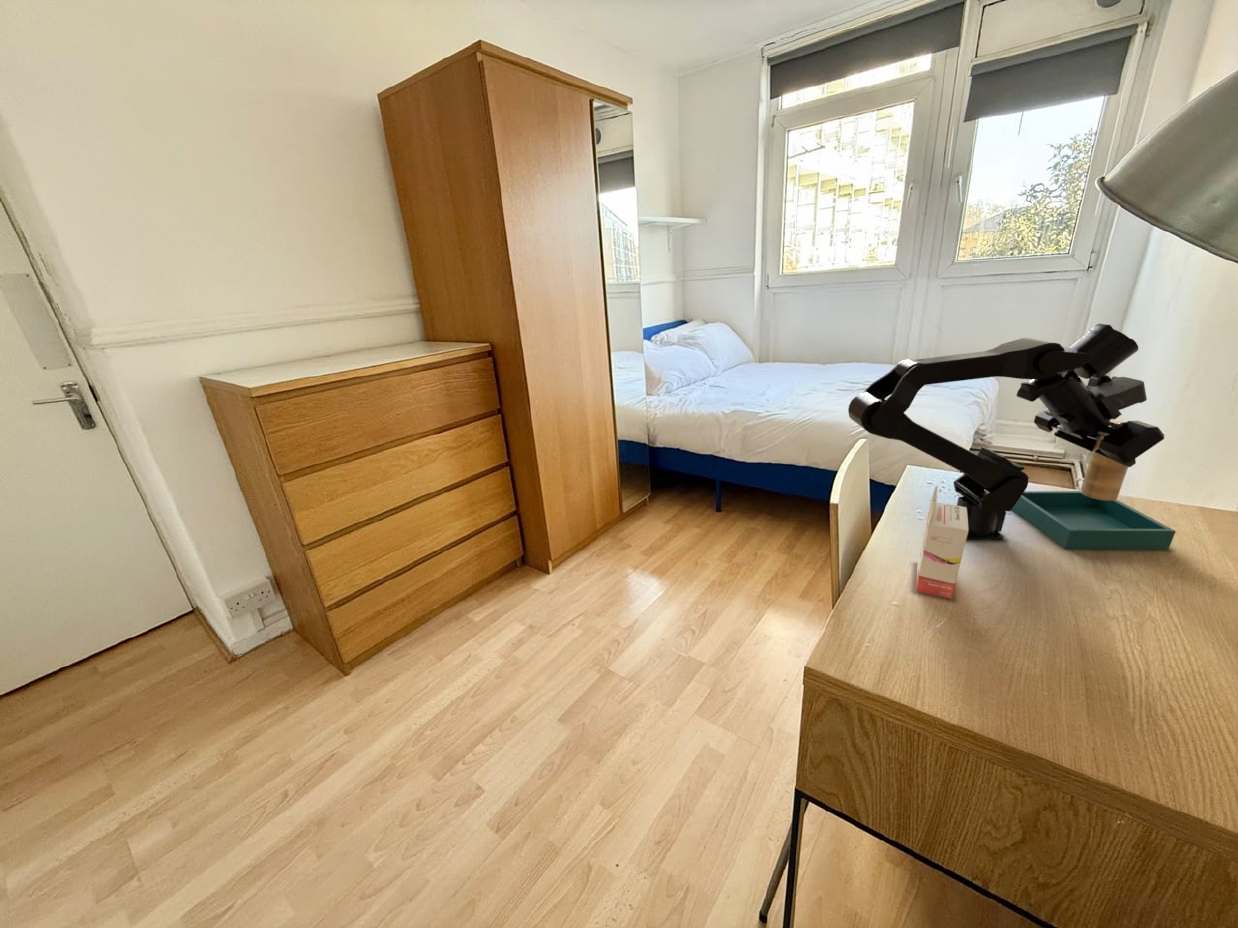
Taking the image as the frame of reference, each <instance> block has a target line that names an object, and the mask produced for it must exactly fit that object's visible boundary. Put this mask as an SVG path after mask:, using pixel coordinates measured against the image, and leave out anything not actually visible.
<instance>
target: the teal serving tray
mask: <svg viewBox="0 0 1238 928" xmlns="http://www.w3.org/2000/svg"><path fill="white" fill-rule="evenodd" d="M1011 511H1012V512H1013V513H1015V514H1017V515H1018V516H1019V517H1021V518H1022V519H1023V520H1025V521H1026V522H1028V523H1029V524H1030V525H1032V526H1033V527H1034V528H1036V529H1037V530H1039V531H1040V532H1042V533H1043V534H1044V535H1045V536H1047V537H1048V538H1050V539H1051V540H1052V541H1054V542H1055V543H1056V544H1058V546H1060V547H1062V548H1063V549H1065V550H1067V549H1070V550H1072V549H1073V550H1074V549H1079V550H1081V549H1084V550H1086V549H1087V550H1170V547H1171V545H1172V542H1173V539H1174V537H1175V534H1176V532H1177V531H1176V530H1174V529H1173V528H1171V527H1169V526H1167V525H1165V524H1163V523H1161V522H1160V521H1158V520H1156V519H1154V518H1153V517H1151V516H1149V515H1146V514H1144V513H1143V512H1141V511H1139V510H1137V509H1135V508H1133V507H1132V506H1129V505H1127V504H1126V503H1124V502H1122V501H1120V500H1118V499H1116V500H1112V501H1106V500H1098V499H1094V498H1090V497H1087V496H1085V495H1083V494H1081V493H1080V490H1059V491H1058V490H1057V491H1056V490H1048V491H1047V490H1039V491H1036V490H1035V491H1034V490H1033V491H1032V490H1031V491H1030V490H1029V491H1027V490H1025V491H1024V493H1023V494H1022V495H1021V497H1020V498H1019V500H1018V501H1017V503H1016V504H1015V505H1014V507H1013V508H1012V510H1011Z"/></svg>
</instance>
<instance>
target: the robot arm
mask: <svg viewBox="0 0 1238 928" xmlns="http://www.w3.org/2000/svg"><path fill="white" fill-rule="evenodd" d="M1138 351H1139V345H1138V343H1137V342H1136V341H1135V339H1133V338H1130V337H1128V335H1126V334H1124V333H1122V331H1119V330H1117V329H1114V327H1112V325H1111V324H1108V323H1107V324H1106V323H1097V324H1095V326H1093V327H1092V328H1091V329H1090V330H1089V331H1088V332H1087V333H1086V334H1085V335H1083V336H1082V337H1081V338H1080V339H1078V340H1077V341H1076V342H1075V343H1073V344H1072V345H1071V346H1069V347H1064V346H1063V345H1062V344H1061V343H1058V342H1054V341H1048V340H1043V339H1037V338H1032V337H1022V338H1018V339H1014V340H1011V341H1007V342H1004V343H1001V344H999V345H997V346H996V347H993V348H990V349H987V350H984V351H975V352H966V353H960V354H959V353H958V354H952V355H943V356H936V357H935V356H934V357H926V358H919V359H912V358H908V359H907V358H906V359H904V360H900V361H899V362H898V363H896V365H894V366H893V368H892V369H890V371H889V372H887V373H886V374H885V375H883V376H882V377H879V378H878V379H876V380H875V381H874V382H872V383H871V384H870V385H869V386H868V387H867V388H866V389H865V390H864V391H863V392H862V393H859V394H858V395H855V396H854V398H852V400H851V401H850V403H849V405H848V410H847V412H848V417H849V418H850V420H852V421H853V422H854V423H856V424H857V425H858V426H859V427H861V428H862V429H863V430H865V431H866V432H867V433H869V434H871V435H874V436H878V437H881V438H884V439H888V440H894V441H895V440H896V441H900V442H903V443H905V444H907V445H909V446H910V447H912V448H914V449H917V450H918V451H920V452H923V453H925V454H926V455H928V456H930V457H932V458H933V459H936V460H938V461H939V462H941V463H944V464H946V465H948V466H950V467H951V468H954V469H956V470H957V471H959V472H961V473H962V475H961V476H959V477H958V478H957V479H955V480H954V481H953V488H954V492H956V493H958V494H959V495H961V496H958V497H957V502H956V506H962V507H966V508H967V516H968V535H967V539H966V540H997V541H999V540H1001V541H1002V540H1004V538H1005V536H1004V535H1003V534H1001V533H1000V532H1002V530H1003V526H1004V522H1005V519H1006V515H1007V512H1011V511H1013V510H1012V508H1013V507H1014V505H1015V504H1016V503H1017V501H1018V500H1019V498H1020V497H1021V495H1022V494H1023V493H1024V491H1027V488H1028V485H1029V479H1030V477H1029V475H1028V474H1027V473H1026V472H1024V470H1025V469H1026V468H1025V467H1024V466H1022V465H1020V464H1018V463H1016V462H1015V461H1014V460H1011V459H1009V458H1007V457H1006V456H1004V455H1002V454H1000V453H997V452H996V451H993V450H991V449H989V448H988V447H986V446H984V445H983V446H982V447H981V448H980V450H979V451H978V452H977V451H973V450H969V449H967V448H966V447H963V446H961V445H959V444H957V443H956V442H954V441H952V440H950V439H947V438H946V437H944V436H942V435H940V434H938V433H936V432H934V431H932V430H930V429H928V428H927V427H925V426H922V425H921V424H919V423H917V422H915V421H913V419H911V418H910V417H909V416H908V415H907V414H906V412H907V410H908V409H909V408H910V406H911V405H912V403H913V401H914V400H915V397H916V396H917V395H918V392H919V391H920V390H921V389H922V388H923V387H924V386H929V385H936V384H937V385H938V384H944V383H953V382H961V381H962V382H963V381H969V380H978V379H986V378H987V379H988V378H995V377H996V378H1010V379H1019V380H1029V381H1022V382H1021V383H1020V387H1019V388H1018V390H1017V393H1016V397H1017V398H1019V399H1022V400H1025V401H1028V402H1032V403H1033V402H1035V401H1036V400H1037V399H1038V400H1040V402H1041V403H1042V404H1043V405H1044V406H1045V408H1043V409H1041V411H1039V412H1038V413H1036V415H1035V416H1034V420H1033V423H1034V424H1035V426H1037V428H1038V429H1040V430H1042V431H1044V432H1047V433H1049V434H1050V433H1052V432H1053V430H1054V429H1055V430H1056V431H1055V432H1054V434H1053V435H1054V437H1056V438H1059V439H1061V440H1063V441H1066V442H1068V443H1071V444H1072V445H1073V444H1074V445H1075V446H1078V447H1080V448H1083V449H1085V450H1087V451H1090V452H1091V453H1092V452H1093V449H1094V446H1095V442H1096V440H1097V439H1099V438H1100V437H1101V436H1104V437H1103V439H1102V440H1101V442H1100V445H1099V449H1097V450H1096V451H1094V452H1095V453H1098V454H1100V455H1102V456H1105V457H1107V458H1109V459H1111V460H1114V461H1116V462H1118V463H1120V464H1123V465H1125V466H1127V467H1128V468H1131V467H1133V466H1135V465H1136V463H1137V462H1136V461H1137V460H1136V459H1137V458H1138V457H1140V456H1142V455H1143V454H1144V453H1146V452H1147V451H1149V450H1150V449H1152V448H1153V447H1154V446H1156V445H1158V444H1159V443H1160V442H1162V441H1164V440H1165V434H1164V432H1162V430H1161V429H1160V427H1158V426H1157V425H1153V424H1149V423H1146V422H1143V421H1140V420H1127V421H1128V422H1123V423H1119V424H1116V423H1113V422H1110V420H1117V419H1118V418H1119V417H1121V416H1122V415H1123V414H1122V412H1121V410H1124V409H1126V408H1128V407H1131V406H1134V405H1137V404H1143V403H1144V402H1146V401H1147V392H1146V387H1145V382H1144V381H1143V380H1140V379H1136V378H1132V377H1126V376H1115V375H1114V376H1111V377H1110V376H1109V375H1108V374H1109V373H1111V371H1113V370H1114V369H1115V368H1117V367H1119V365H1121V364H1122V363H1123V362H1125V361H1126V360H1127V359H1129V358H1130V357H1131V356H1133V355H1134V354H1136V353H1137V352H1138ZM1081 378H1083V379H1085V380H1088V382H1087V385H1086V384H1085V382H1084V381H1083V380H1082V379H1081Z"/></svg>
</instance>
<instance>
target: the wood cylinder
mask: <svg viewBox="0 0 1238 928" xmlns="http://www.w3.org/2000/svg"><path fill="white" fill-rule="evenodd" d="M1128 421H1129V420H1121V419H1111V420H1110V422H1113V423H1116V424H1119V423H1123V422H1128ZM1103 437H1104V436H1101V437H1100V438H1099V439H1097V440H1096V442H1095V446H1094V449H1093V452H1092V451H1091V455H1090V458H1089V461H1088V465H1087V468H1086V471H1085V474H1084V477H1083V481H1082V483H1081V486H1080V490H1079V491H1080V493H1081V494H1083V495H1085V496H1087V497H1090V498H1094V499H1098V500H1106V501H1112V500H1118V497H1119V495H1120V492H1121V490H1122V486H1123V484H1124V480H1125V478H1126V474H1127V472H1128V469H1129V467H1127V466H1125V465H1123V464H1120V463H1118V462H1116V461H1114V460H1111V459H1109V458H1107V457H1105V456H1102V455H1100V454H1098V453H1095V452H1094V451H1096V450H1097V449H1099V445H1100V442H1101V440H1102V439H1103Z"/></svg>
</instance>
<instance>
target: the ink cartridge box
mask: <svg viewBox="0 0 1238 928" xmlns="http://www.w3.org/2000/svg"><path fill="white" fill-rule="evenodd" d="M937 500H938V485H935V487H934V490H933V494H932V497H931V500H930V503H929V507H928V511H927V516H926V519H925V520H926V521H925V526H924V531H923V536H922V539H921V540H922V541H921V546H920V551H919V554H918V560H917V569H916V572H917V573H916V592H920V593H924V594H928V595H932V596H936V597H941V598H944V599H949V600H952V599H953V596H954V592H955V587H956V584H957V580H958V575H959V570H960V566H961V562H962V557H963V554H964V549H965V546H966V542H967V540H968V539H967V535H968V516H967V508H966V507H962V506H957V504H956V505H955V504H949V503H942V502H937Z"/></svg>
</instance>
